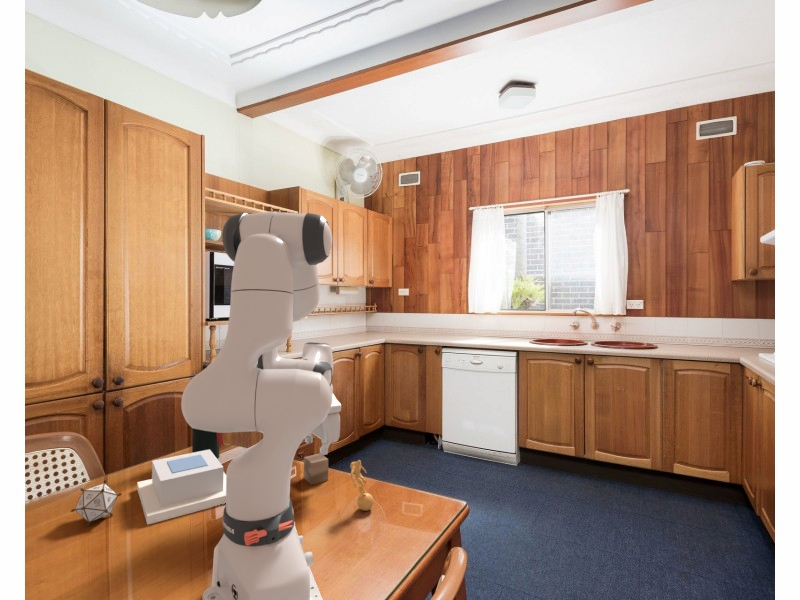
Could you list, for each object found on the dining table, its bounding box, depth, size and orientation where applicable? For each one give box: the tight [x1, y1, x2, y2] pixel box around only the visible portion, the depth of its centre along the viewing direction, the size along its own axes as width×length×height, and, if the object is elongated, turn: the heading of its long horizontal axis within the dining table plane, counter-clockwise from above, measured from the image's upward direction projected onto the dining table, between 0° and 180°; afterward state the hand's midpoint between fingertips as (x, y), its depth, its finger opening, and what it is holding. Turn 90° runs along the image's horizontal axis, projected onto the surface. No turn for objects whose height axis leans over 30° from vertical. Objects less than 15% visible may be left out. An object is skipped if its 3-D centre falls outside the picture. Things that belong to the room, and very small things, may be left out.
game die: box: [70, 479, 123, 527], centre depth 99 cm, size 9×8×10 cm
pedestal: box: [136, 449, 226, 526], centre depth 111 cm, size 20×20×8 cm
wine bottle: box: [191, 360, 224, 460], centre depth 133 cm, size 8×10×30 cm
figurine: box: [349, 459, 375, 512], centre depth 106 cm, size 8×6×12 cm
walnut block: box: [303, 452, 329, 486], centre depth 121 cm, size 5×5×6 cm
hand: (316, 448), depth 122 cm, fingers open, 8 cm apart
